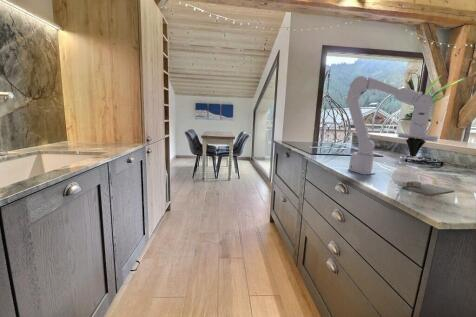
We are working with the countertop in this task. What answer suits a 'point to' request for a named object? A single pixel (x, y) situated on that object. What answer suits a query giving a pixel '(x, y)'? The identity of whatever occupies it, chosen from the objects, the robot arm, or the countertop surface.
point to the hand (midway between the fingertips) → (412, 156)
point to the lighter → (411, 183)
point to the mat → (428, 189)
